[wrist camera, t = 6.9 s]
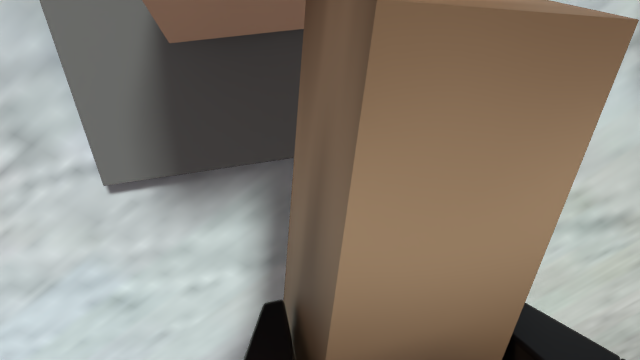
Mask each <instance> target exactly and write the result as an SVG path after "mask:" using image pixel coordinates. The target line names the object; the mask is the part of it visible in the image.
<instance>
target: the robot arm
mask: <svg viewBox="0 0 640 360" xmlns="http://www.w3.org/2000/svg"><path fill="white" fill-rule="evenodd" d="M244 360H295V356H294V349H293V343H292V337H291V332H290V327H289V322H288V317H287V312H286V308H285V303H284V301H283V300H277V301H272V302H267V303H265V304H264V305H263V307H262V309H261V312H260V315H259V318H258V321H257V323H256V326H255V329H254V332H253V335H252V337H251V340H250V343H249V346H248V349H247V352H246V354H245V357H244ZM502 360H620V357H619V356H618V355H616V354H614V353H613V352H611V351H609V350H607V349H606V348H604V347H602V346H600V345H599V344H597V343H595V342H593V341H592V340H590V339H588V338H586V337H585V336H583V335H581V334H579V333H578V332H576V331H574V330H572V329H571V328H569V327H567V326H565V325H564V324H562V323H560V322H558V321H557V320H555V319H553V318H551V317H550V316H548V315H546V314H544V313H543V312H541V311H539V310H537V309H536V308H534V307H532V306H530V305H529V304H527V303H524V306H523V308H522V311H521V313H520V316H519V318H518V321H517V323H516V326H515V328H514V331H513V333H512V336H511V338H510V341H509V343H508V346H507V348H506V351H505V353H504V356H503V358H502ZM621 360H625V359H621Z"/></svg>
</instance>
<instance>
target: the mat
mask: <svg viewBox="0 0 640 360" xmlns="http://www.w3.org/2000/svg"><path fill="white" fill-rule="evenodd" d="M40 3H41V6H42V9H43V12H44V14H45V17H46V20H47V23H48V26H49V29H50V32H51V35H52V38H53V41H54V43H55V46H56V49H57V52H58V55H59V58H60V61H61V64H62V67H63V70H64V72H65V75H66V78H67V81H68V84H69V87H70V90H71V93H72V96H73V99H74V101H75V104H76V107H77V110H78V113H79V116H80V119H81V122H82V125H83V127H84V130H85V133H86V136H87V139H88V142H89V145H90V148H91V151H92V154H93V156H94V159H95V162H96V165H97V168H98V171H99V174H100V177H101V180H102V183H103V185H104V186H107V185H113V184H120V183H127V182H134V181H140V180H147V179H154V178H160V177H167V176H174V175H180V174H187V173H194V172H201V171H207V170H214V169H221V168H227V167H234V166H241V165H247V164H254V163H261V162H268V161H274V160H281V159H288V158H294V153H295V139H296V126H297V112H298V99H299V86H300V72H301V59H302V45H303V32H304V29H297V30H288V31H278V32H269V33H260V34H251V35H241V36H232V37H223V38H214V39H204V40H195V41H186V42H177V43H169V42H168V40H167V39H166V37H165V36H164V34H163V32H162V31H161V29H160V28H159V26H158V25H157V23H156V21H155V20H154V18H153V17H152V15H151V14H150V12H149V10H148V9H147V7H146V6H145V4H144V3H143V1H142V0H40Z"/></svg>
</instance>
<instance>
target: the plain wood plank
mask: <svg viewBox="0 0 640 360" xmlns="http://www.w3.org/2000/svg"><path fill="white" fill-rule="evenodd" d="M638 21H639V20H638V19H633V18H628V17H624V16H619V15H614V14H610V13H605V12H600V11H596V10H591V9H587V8H582V7H577V6H573V5H568V4H563V3H559V2H554V1H550V0H306V5H305V19H304V32H303V45H302V59H301V72H300V86H299V99H298V112H297V126H296V139H295V153H294V166H293V179H292V193H291V206H290V220H289V233H288V246H287V260H286V273H285V287H284V300H283V301H284V303H285V308H286V312H287V317H288V322H289V327H290V332H291V337H292V343H293V349H294V356H295V360H502V358H503V356H504V353H505V351H506V348H507V346H508V343H509V341H510V338H511V336H512V333H513V331H514V328H515V326H516V323H517V321H518V318H519V316H520V313H521V311H522V308H523V306H524V303H525V301H526V298H527V296H528V294H529V291H530V289H531V286H532V284H533V281H534V279H535V276H536V274H537V271H538V269H539V266H540V264H541V261H542V259H543V256H544V254H545V251H546V249H547V246H548V244H549V241H550V239H551V236H552V234H553V232H554V229H555V227H556V224H557V222H558V219H559V217H560V214H561V212H562V209H563V207H564V204H565V202H566V199H567V197H568V194H569V192H570V189H571V187H572V184H573V182H574V179H575V177H576V174H577V172H578V169H579V167H580V165H581V162H582V160H583V157H584V155H585V152H586V150H587V147H588V145H589V142H590V140H591V137H592V135H593V132H594V130H595V127H596V125H597V122H598V120H599V117H600V115H601V112H602V110H603V107H604V105H605V102H606V100H607V98H608V95H609V93H610V90H611V88H612V85H613V83H614V80H615V78H616V75H617V73H618V70H619V68H620V65H621V63H622V60H623V58H624V55H625V53H626V50H627V48H628V45H629V43H630V40H631V38H632V36H633V33H634V31H635V28H636V26H637V23H638Z"/></svg>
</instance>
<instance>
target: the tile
mask: <svg viewBox="0 0 640 360" xmlns="http://www.w3.org/2000/svg"><path fill="white" fill-rule="evenodd" d="M142 1H143V3H144V4H145V6H146V7H147V9H148V10H149V12H150V14H151V15H152V17H153V18H154V20H155V21H156V23H157V25H158V26H159V28H160V29H161V31H162V32H163V34H164V36H165V37H166V39H167V40H168V42H169V43H177V42H186V41H195V40H204V39H214V38H223V37H232V36H241V35H251V34H260V33H269V32H278V31H288V30H297V29H304V19H305V5H306V0H142Z"/></svg>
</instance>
